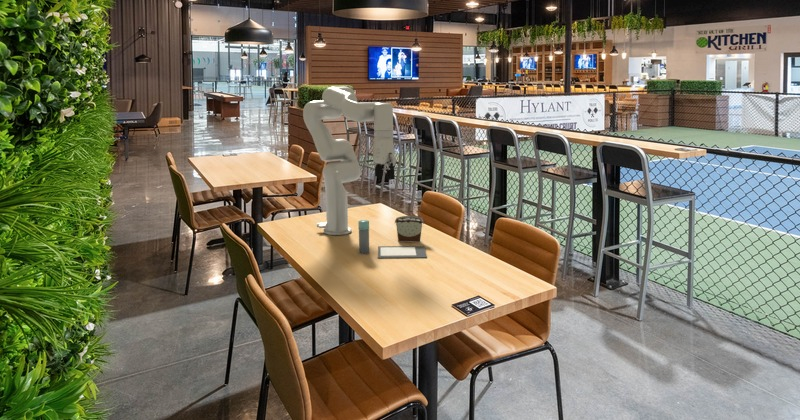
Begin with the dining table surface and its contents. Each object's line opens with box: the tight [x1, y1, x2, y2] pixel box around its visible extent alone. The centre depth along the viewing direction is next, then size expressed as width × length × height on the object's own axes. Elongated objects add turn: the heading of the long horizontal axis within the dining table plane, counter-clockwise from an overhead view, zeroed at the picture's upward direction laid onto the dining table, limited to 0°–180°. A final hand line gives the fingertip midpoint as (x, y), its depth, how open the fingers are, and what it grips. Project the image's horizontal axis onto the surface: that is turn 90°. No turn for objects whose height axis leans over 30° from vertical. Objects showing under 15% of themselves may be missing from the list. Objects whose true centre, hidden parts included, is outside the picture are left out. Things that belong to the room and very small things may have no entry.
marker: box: [358, 219, 370, 255], centre depth 230 cm, size 4×4×13 cm
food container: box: [394, 215, 424, 243], centre depth 249 cm, size 12×6×10 cm, turn 84°
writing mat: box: [377, 245, 428, 259], centre depth 232 cm, size 19×15×1 cm
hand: (384, 177), depth 233 cm, fingers open, 9 cm apart
